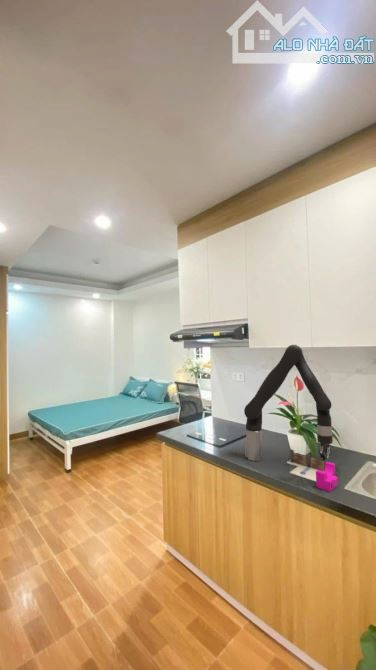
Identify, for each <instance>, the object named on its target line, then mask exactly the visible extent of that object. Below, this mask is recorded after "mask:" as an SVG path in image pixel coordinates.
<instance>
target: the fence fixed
mask: <svg viewBox="0 0 376 670" xmlns="http://www.w3.org/2000/svg"><path fill="white" fill-rule="evenodd" d="M290 460H291V462H294V463H298V464H301V465H304V466H307V467H311V454H310V453H307V454H306V455H303V454H300V453H296V452H295V450H294V449H290Z"/></svg>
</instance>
